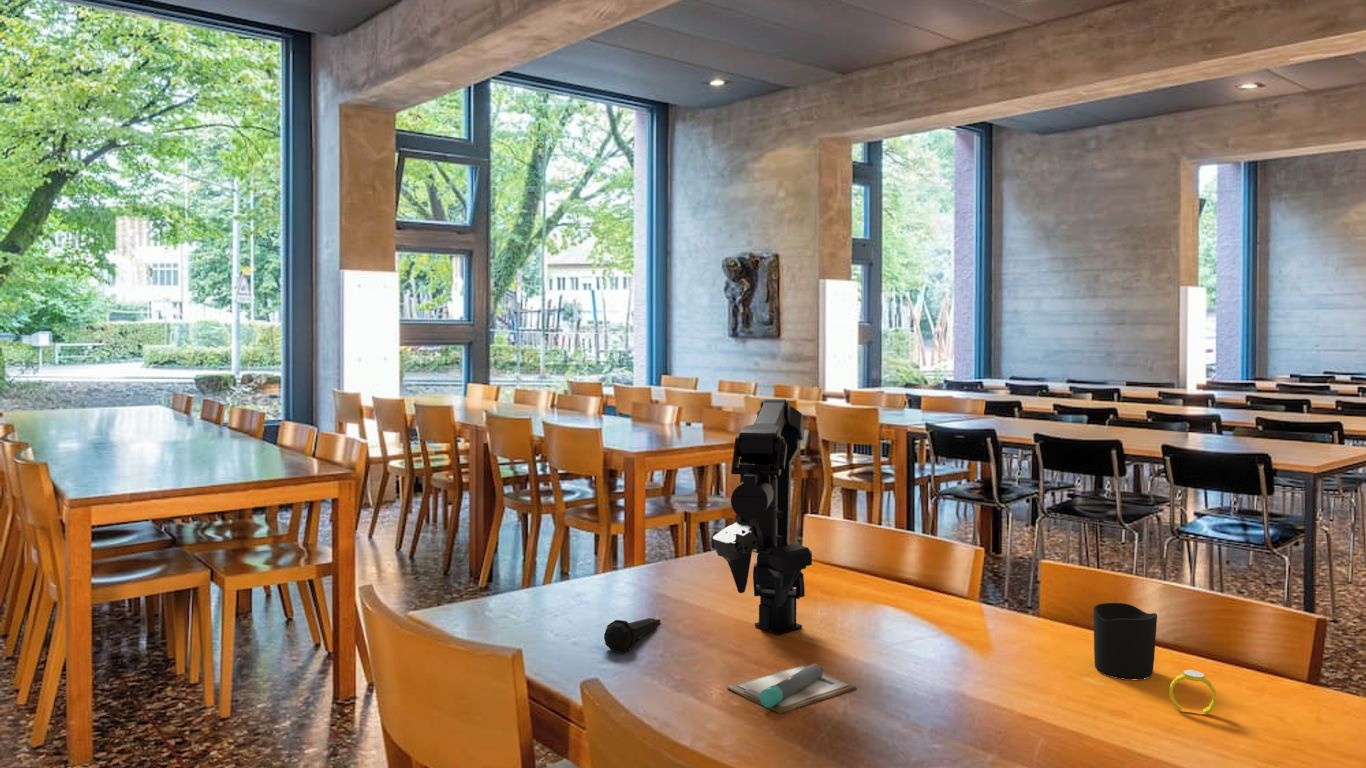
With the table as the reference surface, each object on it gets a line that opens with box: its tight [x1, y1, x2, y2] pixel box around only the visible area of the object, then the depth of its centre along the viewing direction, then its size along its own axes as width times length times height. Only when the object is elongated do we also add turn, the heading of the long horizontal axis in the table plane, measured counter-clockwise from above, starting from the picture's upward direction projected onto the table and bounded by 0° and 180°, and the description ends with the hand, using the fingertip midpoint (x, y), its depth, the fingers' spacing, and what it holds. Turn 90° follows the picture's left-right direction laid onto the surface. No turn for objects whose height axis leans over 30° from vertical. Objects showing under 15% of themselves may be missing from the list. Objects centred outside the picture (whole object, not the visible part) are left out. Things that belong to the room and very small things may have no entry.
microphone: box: [603, 617, 661, 654], centre depth 179 cm, size 6×6×20 cm
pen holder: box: [1093, 602, 1158, 680], centre depth 161 cm, size 9×9×10 cm
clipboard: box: [726, 664, 857, 714], centre depth 155 cm, size 16×12×1 cm
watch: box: [1169, 669, 1217, 714], centre depth 145 cm, size 6×3×6 cm, turn 64°
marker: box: [760, 663, 824, 709], centre depth 152 cm, size 16×3×3 cm
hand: (760, 599), depth 164 cm, fingers open, 9 cm apart
